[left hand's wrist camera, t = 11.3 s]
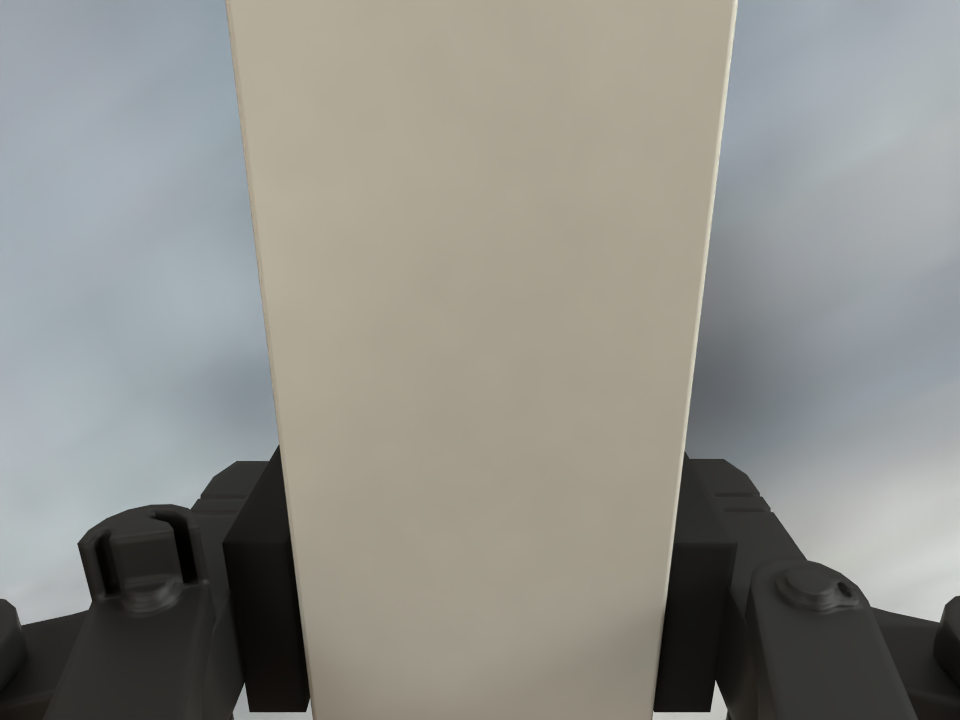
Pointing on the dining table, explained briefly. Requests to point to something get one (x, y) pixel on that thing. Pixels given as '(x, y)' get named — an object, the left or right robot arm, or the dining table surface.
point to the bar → (482, 335)
